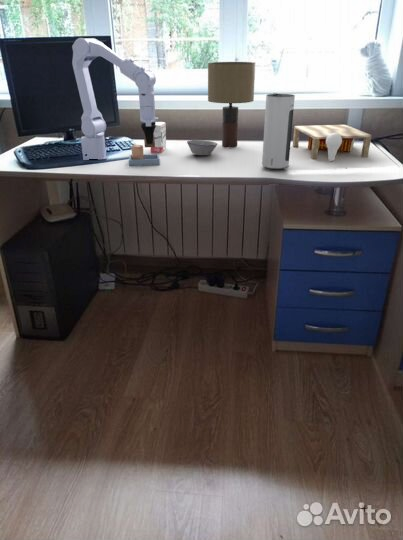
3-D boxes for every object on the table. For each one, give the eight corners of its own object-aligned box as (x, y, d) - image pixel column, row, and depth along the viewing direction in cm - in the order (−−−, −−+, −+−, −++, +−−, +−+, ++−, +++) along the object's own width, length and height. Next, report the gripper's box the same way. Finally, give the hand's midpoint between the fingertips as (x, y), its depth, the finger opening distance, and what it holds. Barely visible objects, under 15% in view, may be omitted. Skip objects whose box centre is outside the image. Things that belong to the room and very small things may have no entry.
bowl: (180, 153, 179) (181, 141, 177) (196, 149, 189) (196, 138, 187) (207, 157, 173) (208, 145, 171) (221, 154, 184) (222, 142, 182)
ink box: (161, 153, 185) (160, 124, 179) (150, 152, 186) (148, 124, 180) (167, 149, 192) (165, 121, 187) (156, 148, 193) (154, 121, 188)
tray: (129, 165, 166) (128, 160, 165) (129, 160, 174) (129, 155, 173) (159, 164, 167) (159, 159, 166) (159, 159, 175) (158, 154, 174)
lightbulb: (339, 160, 172) (343, 132, 166) (338, 163, 167) (342, 134, 161) (323, 159, 173) (327, 131, 168) (322, 162, 168) (326, 134, 163)
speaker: (282, 170, 158) (288, 95, 146) (257, 166, 163) (261, 94, 151) (292, 164, 166) (299, 92, 154) (268, 161, 171) (272, 91, 159)
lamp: (258, 144, 200) (263, 62, 183) (238, 152, 185) (241, 63, 168) (221, 140, 209) (222, 61, 193) (199, 147, 194) (198, 63, 178)
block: (155, 147, 166) (154, 136, 164) (144, 147, 166) (144, 136, 164) (154, 145, 170) (154, 134, 168) (144, 145, 169) (144, 135, 167)
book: (307, 149, 190) (308, 138, 188) (313, 144, 201) (314, 133, 198) (349, 153, 184) (351, 141, 181) (353, 147, 194) (355, 136, 192)
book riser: (312, 158, 174) (314, 136, 170) (292, 145, 196) (294, 126, 192) (367, 156, 176) (371, 135, 172) (342, 144, 199) (344, 124, 195)
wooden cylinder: (132, 162, 168) (131, 147, 165) (132, 160, 172) (131, 145, 169) (144, 162, 168) (142, 147, 165) (144, 159, 172) (142, 144, 169)
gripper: (158, 108, 155) (160, 146, 161) (157, 103, 167) (159, 138, 174) (139, 108, 154) (141, 146, 160) (139, 103, 167) (141, 139, 173)
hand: (149, 142), depth 167 cm, fingers closed on block, 4 cm apart
